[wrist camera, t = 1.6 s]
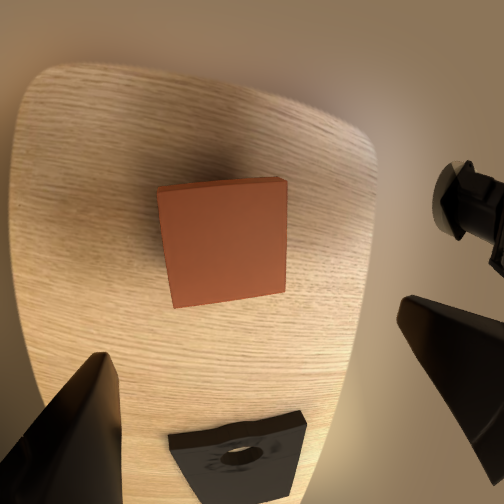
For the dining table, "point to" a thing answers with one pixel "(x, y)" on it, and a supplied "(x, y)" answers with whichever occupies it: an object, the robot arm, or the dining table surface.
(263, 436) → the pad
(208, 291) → the reddish orange rectangular block
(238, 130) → the dining table surface
